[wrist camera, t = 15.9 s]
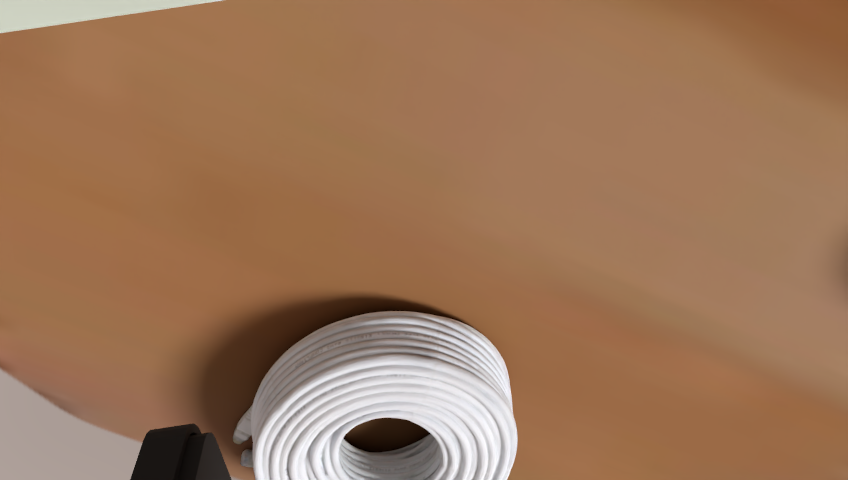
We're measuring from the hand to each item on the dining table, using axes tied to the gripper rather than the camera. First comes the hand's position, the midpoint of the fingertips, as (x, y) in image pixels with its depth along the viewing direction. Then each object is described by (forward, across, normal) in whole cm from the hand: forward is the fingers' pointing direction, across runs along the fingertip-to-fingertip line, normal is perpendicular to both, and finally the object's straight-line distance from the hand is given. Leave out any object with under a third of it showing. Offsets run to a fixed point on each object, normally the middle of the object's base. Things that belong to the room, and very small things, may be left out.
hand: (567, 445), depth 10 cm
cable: (+31, +6, +27) cm, 42 cm away
